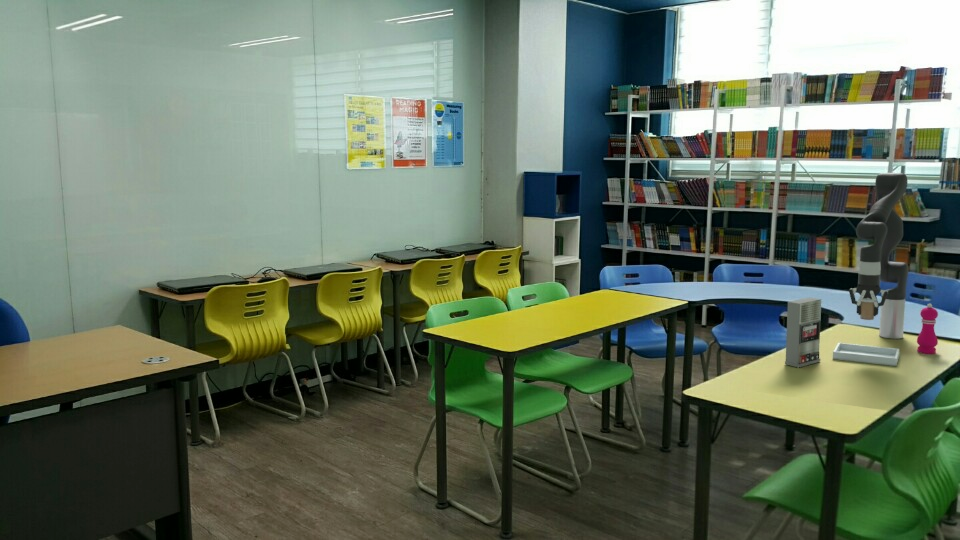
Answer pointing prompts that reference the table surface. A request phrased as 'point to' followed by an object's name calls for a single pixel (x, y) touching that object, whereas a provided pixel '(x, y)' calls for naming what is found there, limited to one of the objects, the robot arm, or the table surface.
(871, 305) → the shaker
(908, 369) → the table surface
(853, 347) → the tray
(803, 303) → the cassette tape recorder
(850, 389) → the table surface
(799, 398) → the table surface
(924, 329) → the pepper mill
